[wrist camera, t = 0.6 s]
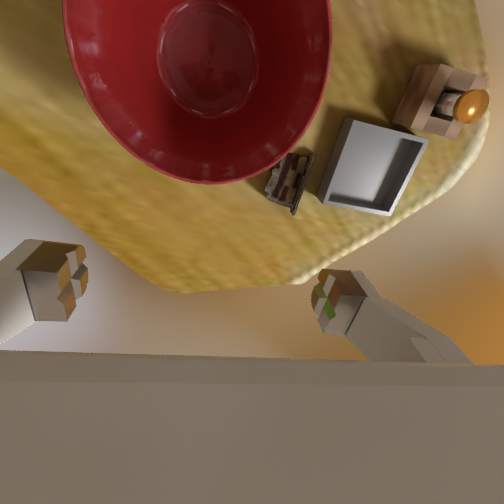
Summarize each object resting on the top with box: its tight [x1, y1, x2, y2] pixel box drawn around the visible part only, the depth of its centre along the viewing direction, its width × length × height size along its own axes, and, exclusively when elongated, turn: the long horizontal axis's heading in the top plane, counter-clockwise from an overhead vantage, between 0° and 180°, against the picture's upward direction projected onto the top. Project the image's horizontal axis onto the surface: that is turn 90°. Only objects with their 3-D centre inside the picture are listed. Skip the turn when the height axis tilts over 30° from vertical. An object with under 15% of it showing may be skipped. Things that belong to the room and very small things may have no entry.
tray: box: [316, 117, 430, 216], centre depth 54 cm, size 15×15×4 cm
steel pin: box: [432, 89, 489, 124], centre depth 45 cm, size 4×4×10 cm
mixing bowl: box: [62, 0, 332, 185], centre depth 37 cm, size 28×28×15 cm
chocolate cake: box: [265, 153, 316, 215], centre depth 54 cm, size 10×7×12 cm
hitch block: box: [391, 63, 488, 139], centre depth 48 cm, size 9×9×6 cm
